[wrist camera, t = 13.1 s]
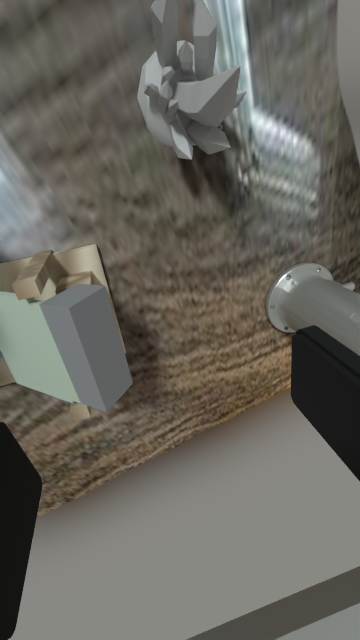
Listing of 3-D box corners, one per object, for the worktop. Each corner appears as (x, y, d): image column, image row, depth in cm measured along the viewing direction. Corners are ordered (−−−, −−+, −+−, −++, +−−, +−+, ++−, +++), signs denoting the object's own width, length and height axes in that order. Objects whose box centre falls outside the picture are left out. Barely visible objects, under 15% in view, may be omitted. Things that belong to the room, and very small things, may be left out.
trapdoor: (104, 281, 29) (66, 303, 25) (134, 386, 36) (107, 415, 32) (6, 274, 37) (-34, 290, 33) (46, 361, 44) (16, 383, 40)
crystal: (192, -5, 30) (267, -142, 17) (236, 133, 36) (314, 112, 23) (108, 45, 30) (119, -53, 17) (168, 174, 36) (208, 174, 23)
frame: (95, 241, 38) (95, 267, 27) (126, 351, 46) (135, 403, 36) (-102, 280, 34) (-188, 327, 24) (-28, 392, 42) (-68, 463, 32)
